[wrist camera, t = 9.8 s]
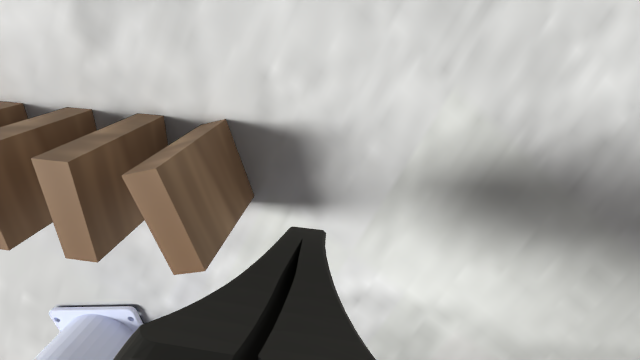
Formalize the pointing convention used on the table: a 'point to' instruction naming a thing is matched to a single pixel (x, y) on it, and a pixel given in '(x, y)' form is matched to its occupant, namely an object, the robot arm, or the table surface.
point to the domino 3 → (192, 195)
